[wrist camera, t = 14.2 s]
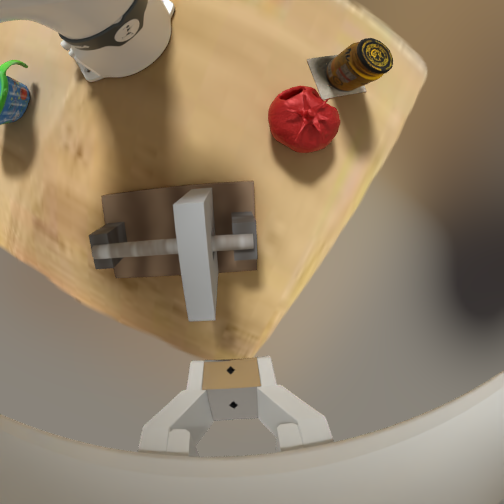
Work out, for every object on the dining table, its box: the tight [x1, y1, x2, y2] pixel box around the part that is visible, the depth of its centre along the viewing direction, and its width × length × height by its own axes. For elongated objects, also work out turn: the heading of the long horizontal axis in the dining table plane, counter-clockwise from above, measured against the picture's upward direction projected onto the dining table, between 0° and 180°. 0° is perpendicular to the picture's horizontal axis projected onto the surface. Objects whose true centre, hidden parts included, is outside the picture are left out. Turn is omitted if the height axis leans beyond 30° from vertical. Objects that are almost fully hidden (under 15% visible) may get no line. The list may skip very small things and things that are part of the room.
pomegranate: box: [268, 86, 340, 153], centre depth 34 cm, size 10×10×9 cm
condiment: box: [307, 38, 393, 100], centre depth 31 cm, size 7×8×12 cm
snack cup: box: [0, 60, 30, 125], centre depth 26 cm, size 16×10×10 cm
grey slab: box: [173, 188, 218, 321], centre depth 35 cm, size 3×13×14 cm, turn 2°
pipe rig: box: [89, 181, 257, 278], centre depth 38 cm, size 24×14×9 cm, turn 92°
